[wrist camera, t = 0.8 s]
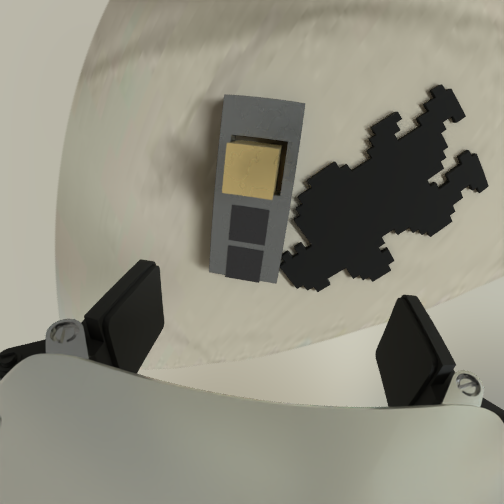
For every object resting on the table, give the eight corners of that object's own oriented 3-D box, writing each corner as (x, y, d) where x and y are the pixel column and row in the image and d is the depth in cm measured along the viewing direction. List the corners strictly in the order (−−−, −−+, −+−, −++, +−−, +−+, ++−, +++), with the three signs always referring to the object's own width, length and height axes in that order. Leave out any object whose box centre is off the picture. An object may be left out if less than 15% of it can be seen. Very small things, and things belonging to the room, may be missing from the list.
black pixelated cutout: (443, 82, 23) (242, 215, 33) (447, 81, 22) (240, 217, 32) (492, 193, 27) (316, 309, 37) (496, 195, 26) (316, 313, 36)
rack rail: (229, 97, 28) (224, 94, 25) (304, 105, 27) (305, 103, 25) (214, 264, 36) (208, 273, 34) (277, 274, 36) (276, 285, 33)
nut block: (240, 139, 30) (226, 142, 23) (282, 145, 29) (279, 149, 23) (236, 179, 31) (221, 192, 25) (276, 185, 31) (272, 200, 25)
